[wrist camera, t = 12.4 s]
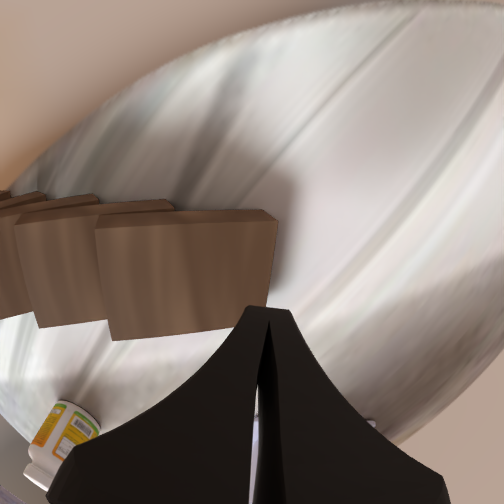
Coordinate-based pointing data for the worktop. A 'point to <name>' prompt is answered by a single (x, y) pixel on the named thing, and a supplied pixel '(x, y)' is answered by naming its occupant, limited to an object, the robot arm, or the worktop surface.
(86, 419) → the supplement bottle
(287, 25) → the worktop surface
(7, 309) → the domino
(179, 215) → the domino
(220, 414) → the robot arm
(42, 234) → the domino
